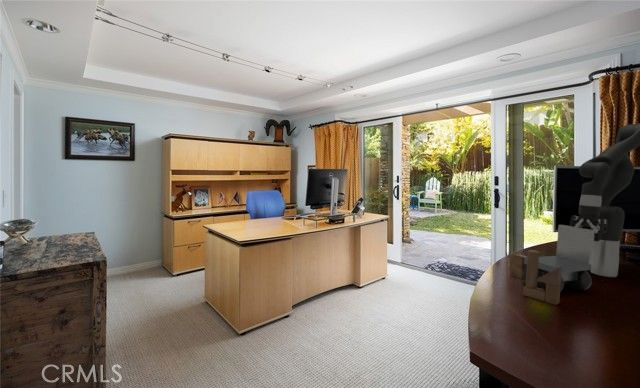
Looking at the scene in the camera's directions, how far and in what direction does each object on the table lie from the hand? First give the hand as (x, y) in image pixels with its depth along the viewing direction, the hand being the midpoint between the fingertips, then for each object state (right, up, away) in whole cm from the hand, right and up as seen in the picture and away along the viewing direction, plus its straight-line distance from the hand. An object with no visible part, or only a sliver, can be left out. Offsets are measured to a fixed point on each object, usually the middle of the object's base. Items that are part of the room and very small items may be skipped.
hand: (586, 239), depth 141 cm
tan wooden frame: (-40, -19, -26) cm, 52 cm away
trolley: (-25, -18, -14) cm, 34 cm away
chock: (-32, -17, -1) cm, 36 cm away
